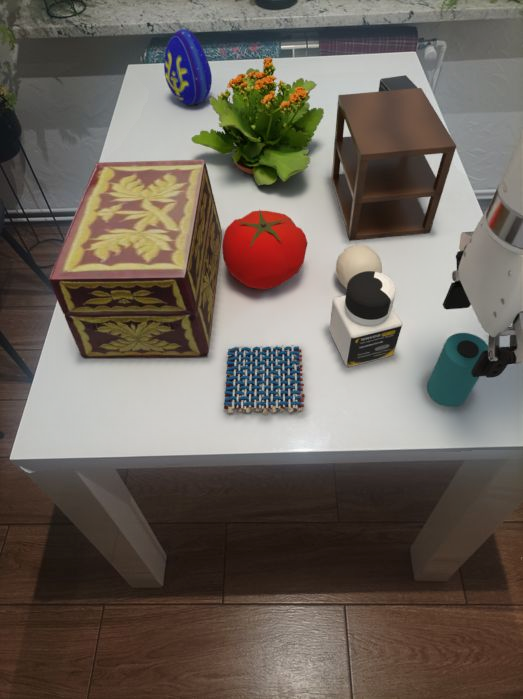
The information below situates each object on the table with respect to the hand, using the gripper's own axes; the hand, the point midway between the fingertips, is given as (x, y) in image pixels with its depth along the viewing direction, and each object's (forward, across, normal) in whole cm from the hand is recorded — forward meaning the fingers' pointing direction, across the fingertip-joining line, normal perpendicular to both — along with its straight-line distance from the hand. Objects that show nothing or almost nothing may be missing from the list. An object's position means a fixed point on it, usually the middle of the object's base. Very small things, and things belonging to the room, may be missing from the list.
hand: (469, 338), depth 54 cm
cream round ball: (+12, +21, +7) cm, 25 cm away
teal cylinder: (+11, 0, -1) cm, 11 cm away
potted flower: (+12, +58, +20) cm, 63 cm away
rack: (+11, +40, -1) cm, 42 cm away
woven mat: (+12, +4, +23) cm, 26 cm away
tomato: (+12, +25, +21) cm, 35 cm away
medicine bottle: (+12, +9, +9) cm, 17 cm away
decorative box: (+12, +24, +39) cm, 47 cm away
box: (+11, +62, -9) cm, 64 cm away
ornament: (+12, +85, +33) cm, 92 cm away
